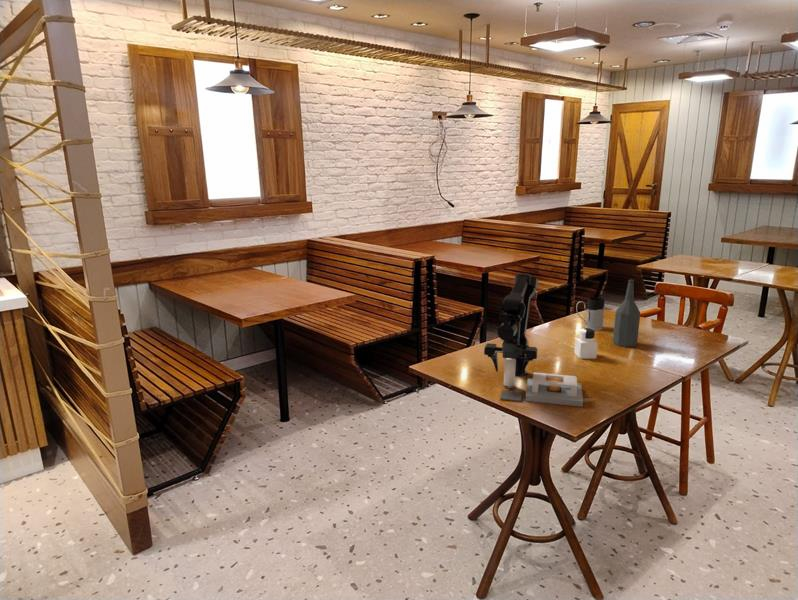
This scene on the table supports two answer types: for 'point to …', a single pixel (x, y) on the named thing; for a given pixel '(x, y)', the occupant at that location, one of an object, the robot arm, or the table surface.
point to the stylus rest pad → (511, 396)
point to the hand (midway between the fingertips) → (509, 373)
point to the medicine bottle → (586, 344)
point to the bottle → (627, 320)
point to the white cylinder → (509, 373)
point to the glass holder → (594, 313)
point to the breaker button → (553, 388)
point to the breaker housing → (568, 389)
